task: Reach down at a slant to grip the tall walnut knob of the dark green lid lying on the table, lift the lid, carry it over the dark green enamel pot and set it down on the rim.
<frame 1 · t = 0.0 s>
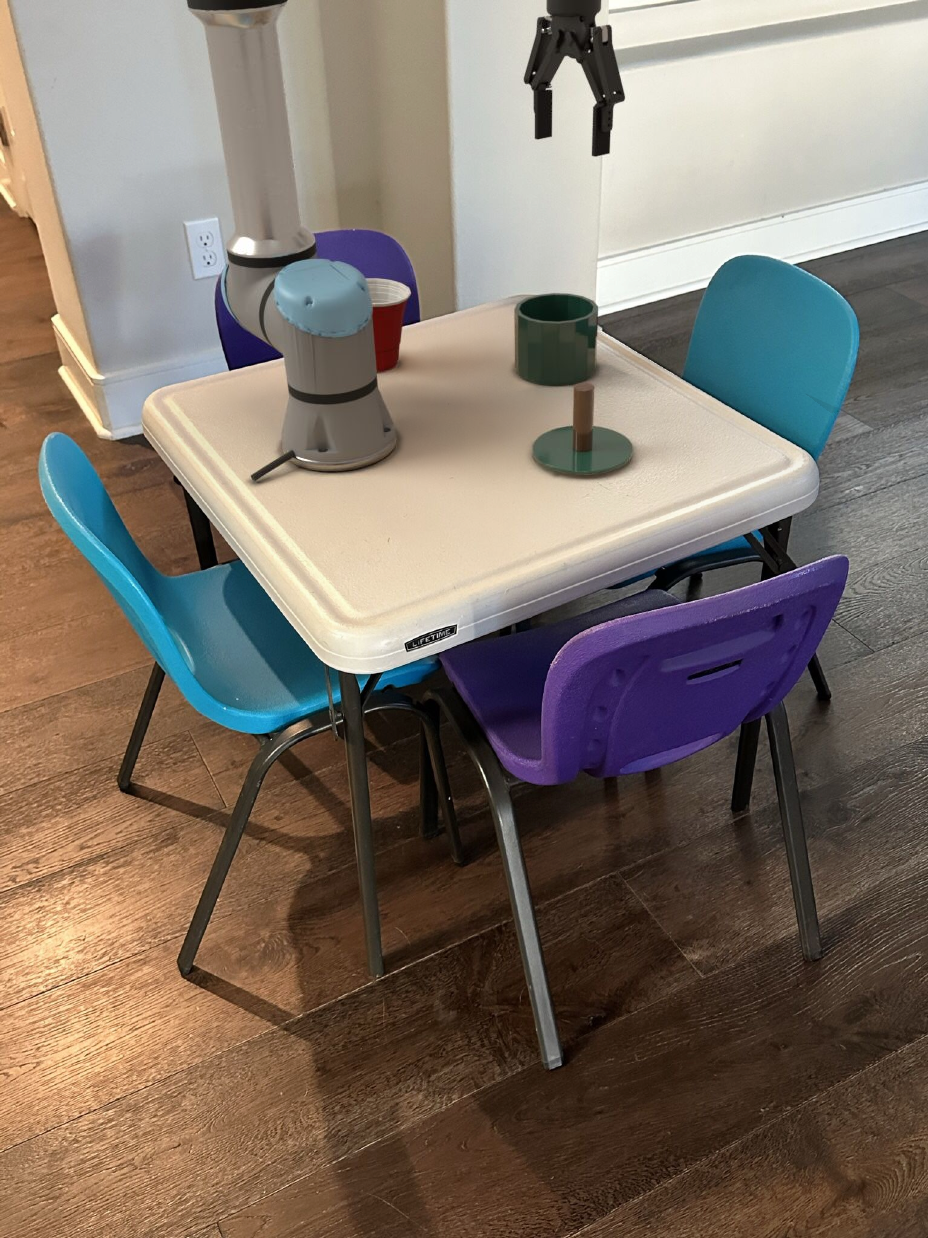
hand: (571, 146, 166), 28 cm above the table, tool pointing down, fingers open, 13 cm apart
lid: (582, 450, 146), point 1 cm above the table
pot: (555, 368, 169), on the table
plastic cup: (380, 365, 173), on the table
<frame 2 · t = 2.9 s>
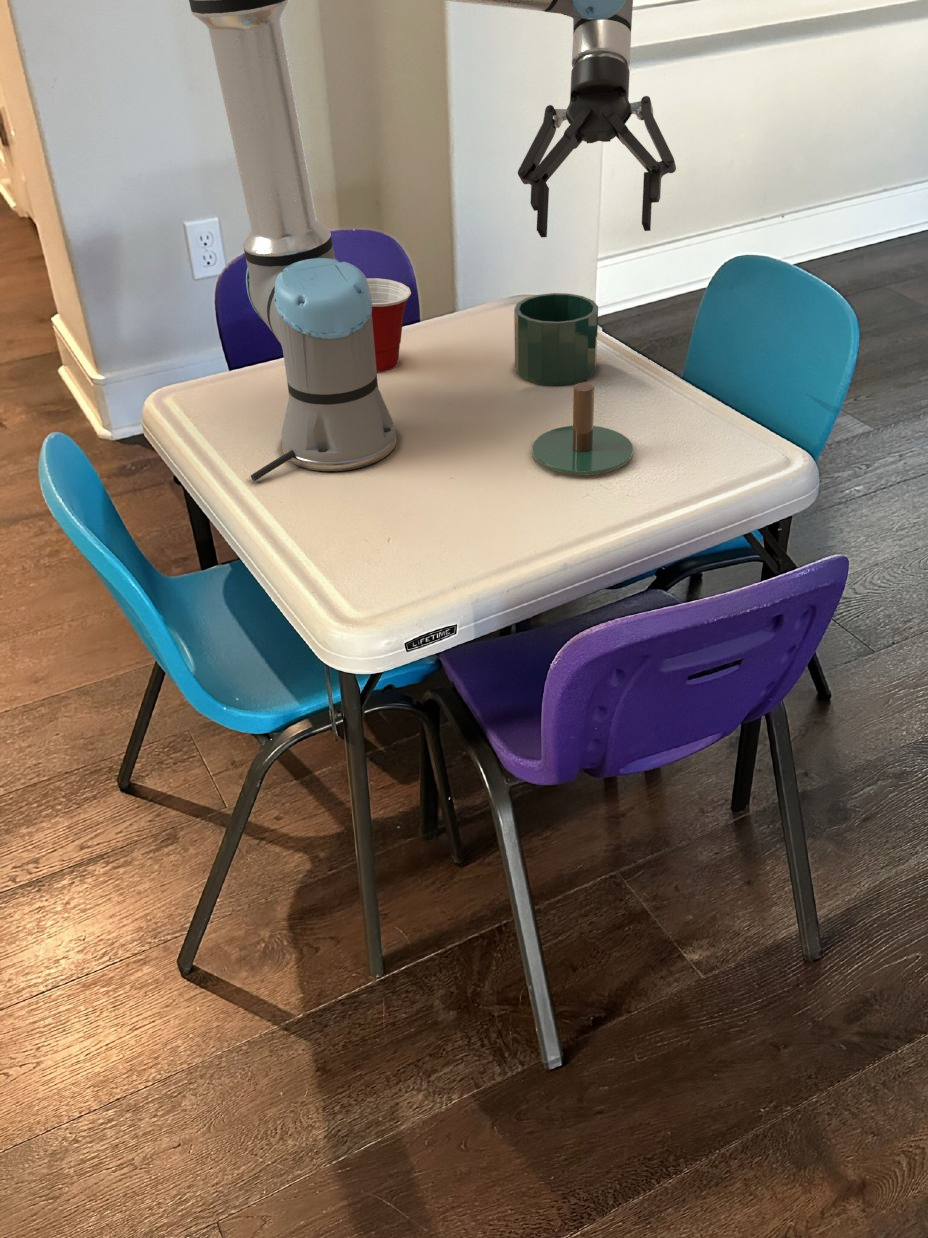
hand: (593, 230, 145), 24 cm above the table, tool tilted 40°, fingers open, 13 cm apart
nothing on the table moved.
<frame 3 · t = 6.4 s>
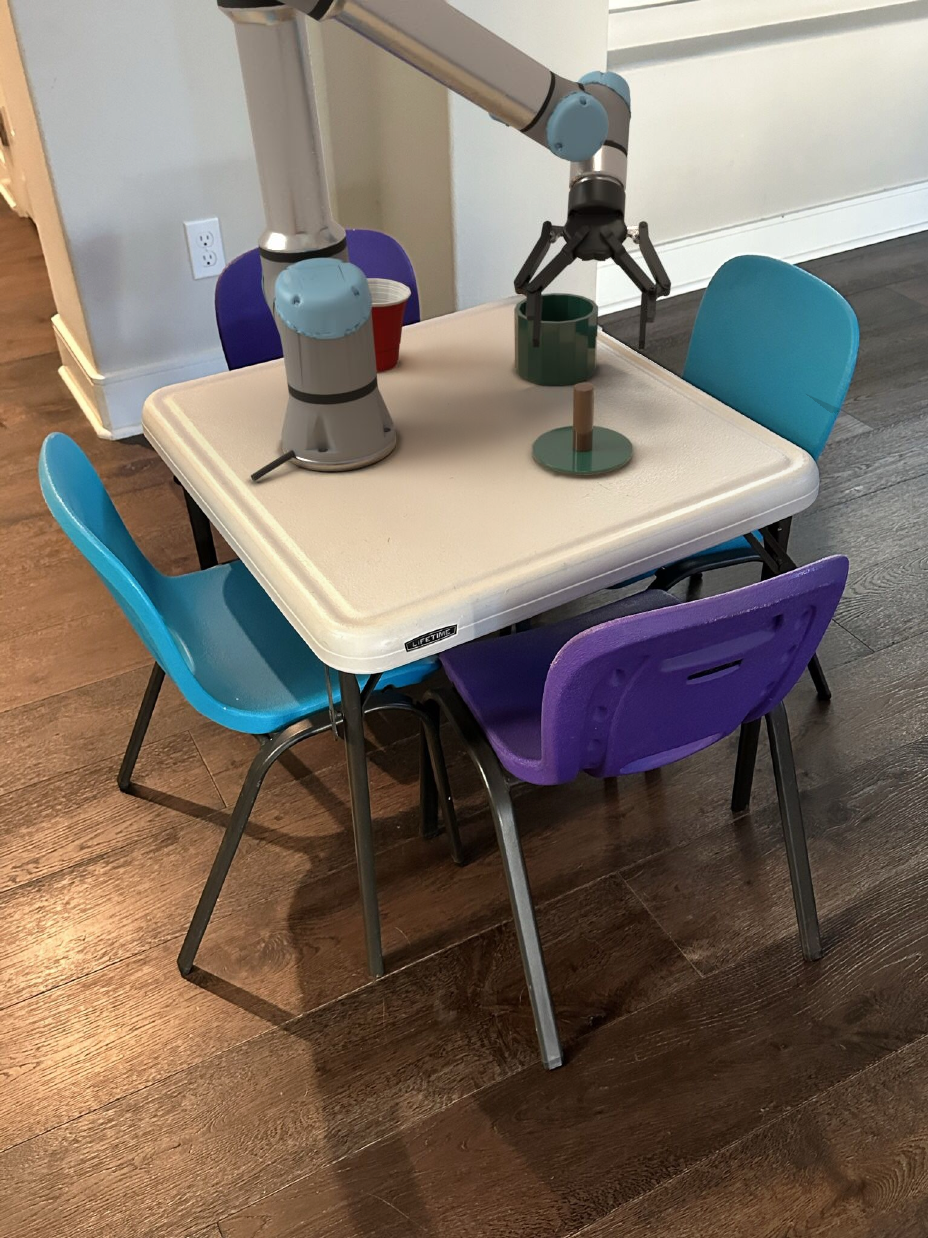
hand: (588, 344, 145), 12 cm above the table, tool tilted 45°, fingers open, 13 cm apart
nothing on the table moved.
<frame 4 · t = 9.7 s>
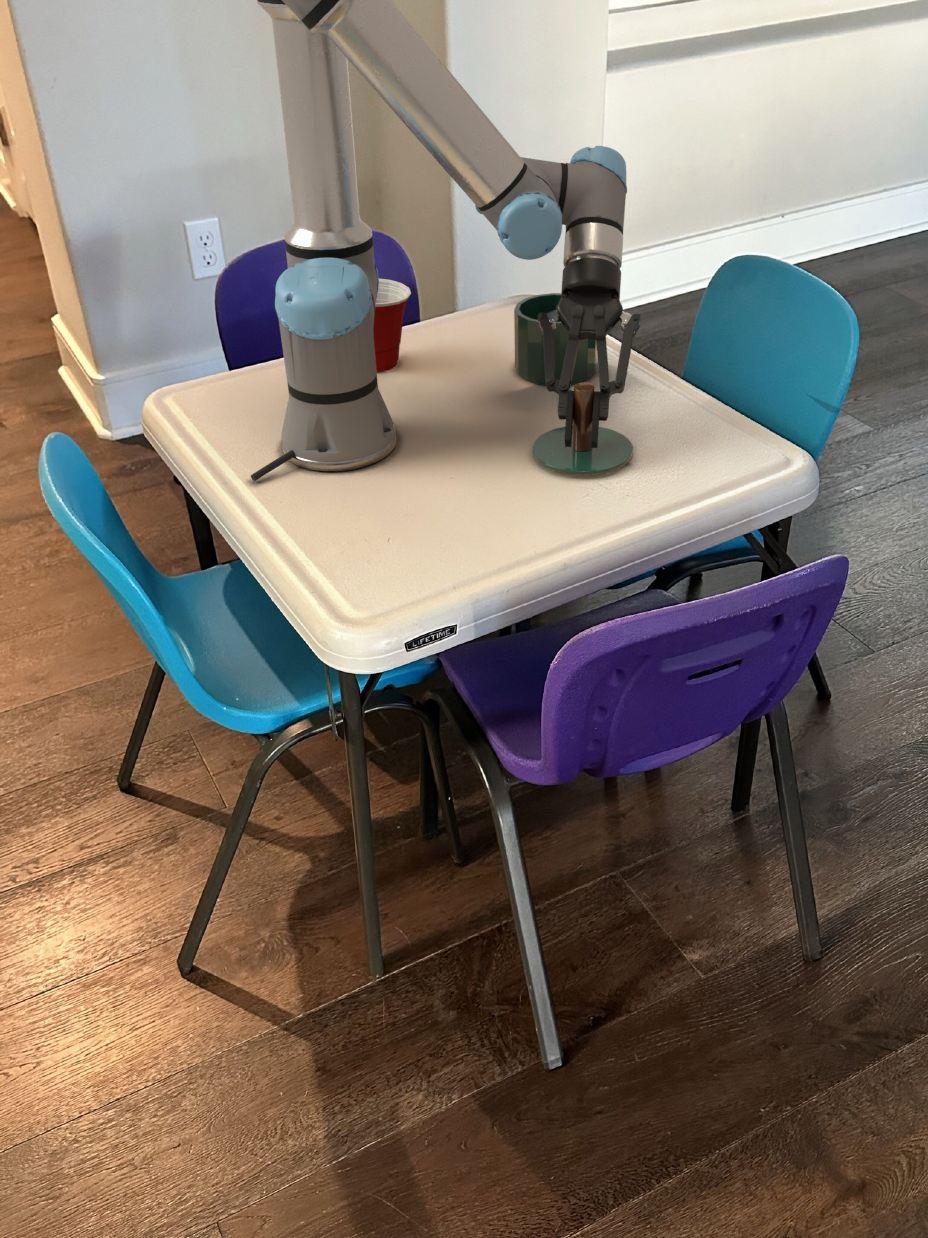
hand: (581, 443, 142), 4 cm above the table, tool tilted 45°, fingers closed on lid, 3 cm apart
lid: (582, 450, 146), point 1 cm above the table, touching gripper
everything else where it was.
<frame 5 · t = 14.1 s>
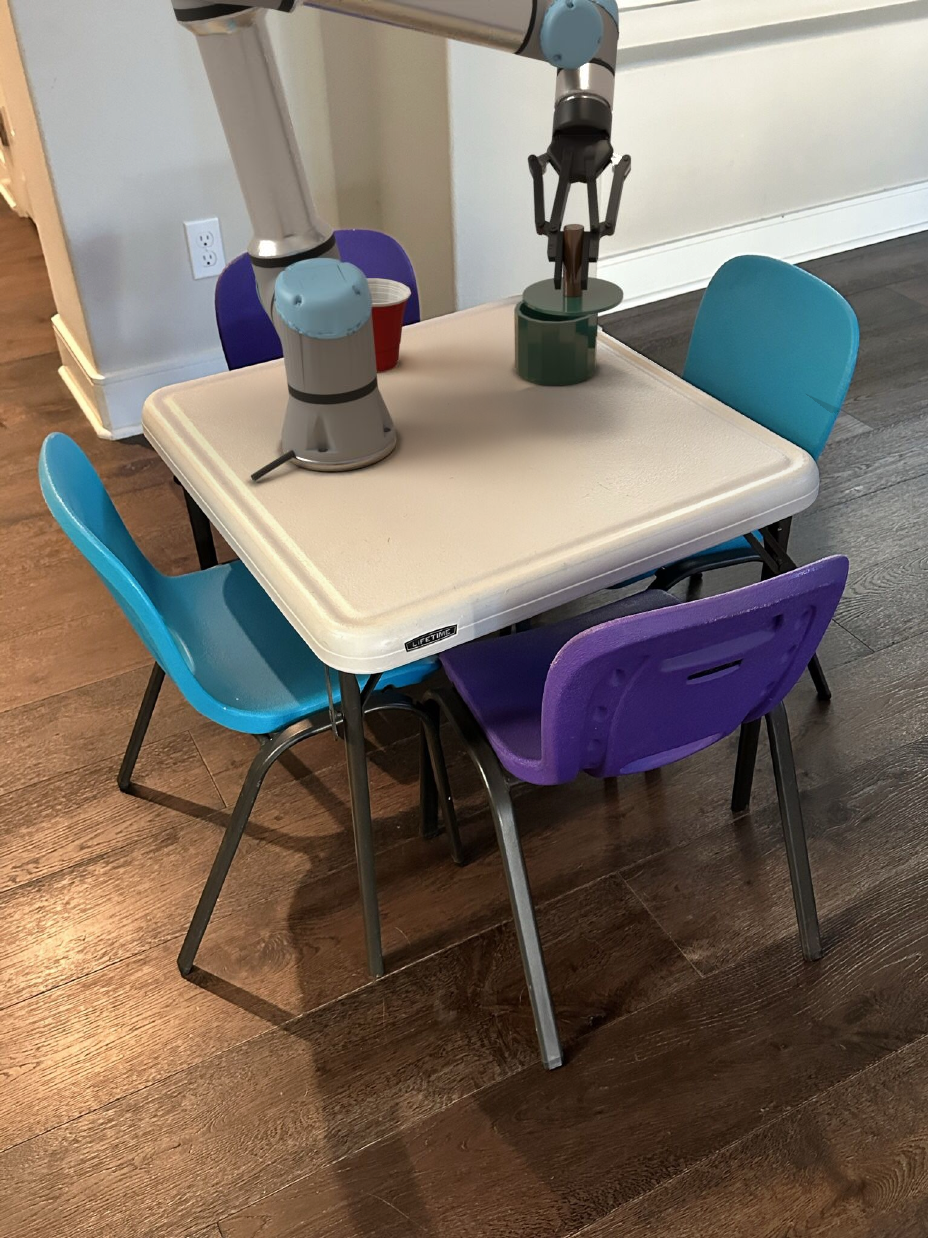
hand: (570, 284, 141), 20 cm above the table, tool tilted 45°, fingers closed on lid, 3 cm apart
lid: (572, 297, 146), point 17 cm above the table, touching gripper
everything else where it was.
when the fingers open (12 cm above the table, at t = 18.5 s): lid stays where it is, resting on pot.
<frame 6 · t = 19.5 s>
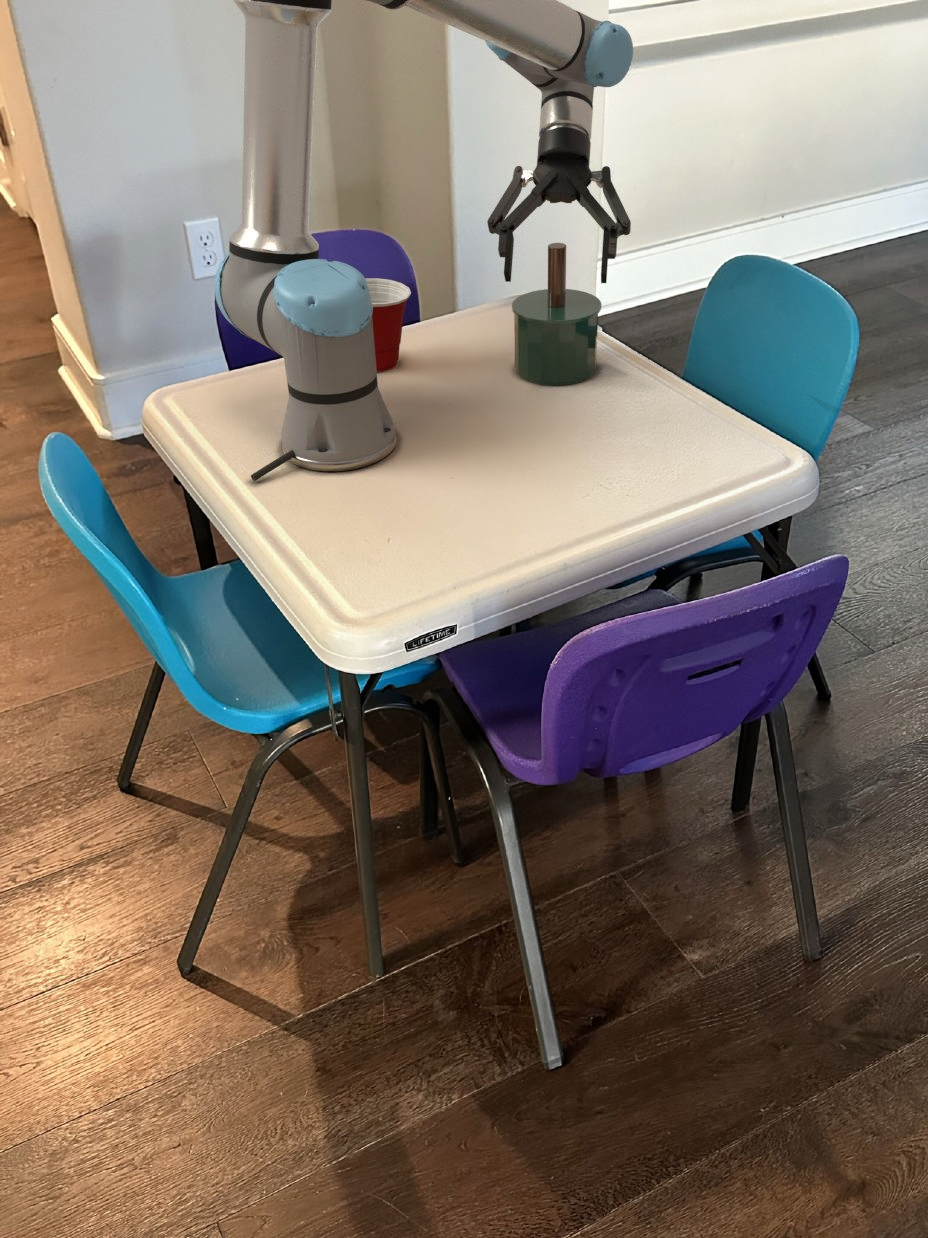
hand: (555, 278, 159), 15 cm above the table, tool tilted 45°, fingers open, 13 cm apart
lid: (556, 307, 164), point 9 cm above the table, touching pot
everything else where it was.
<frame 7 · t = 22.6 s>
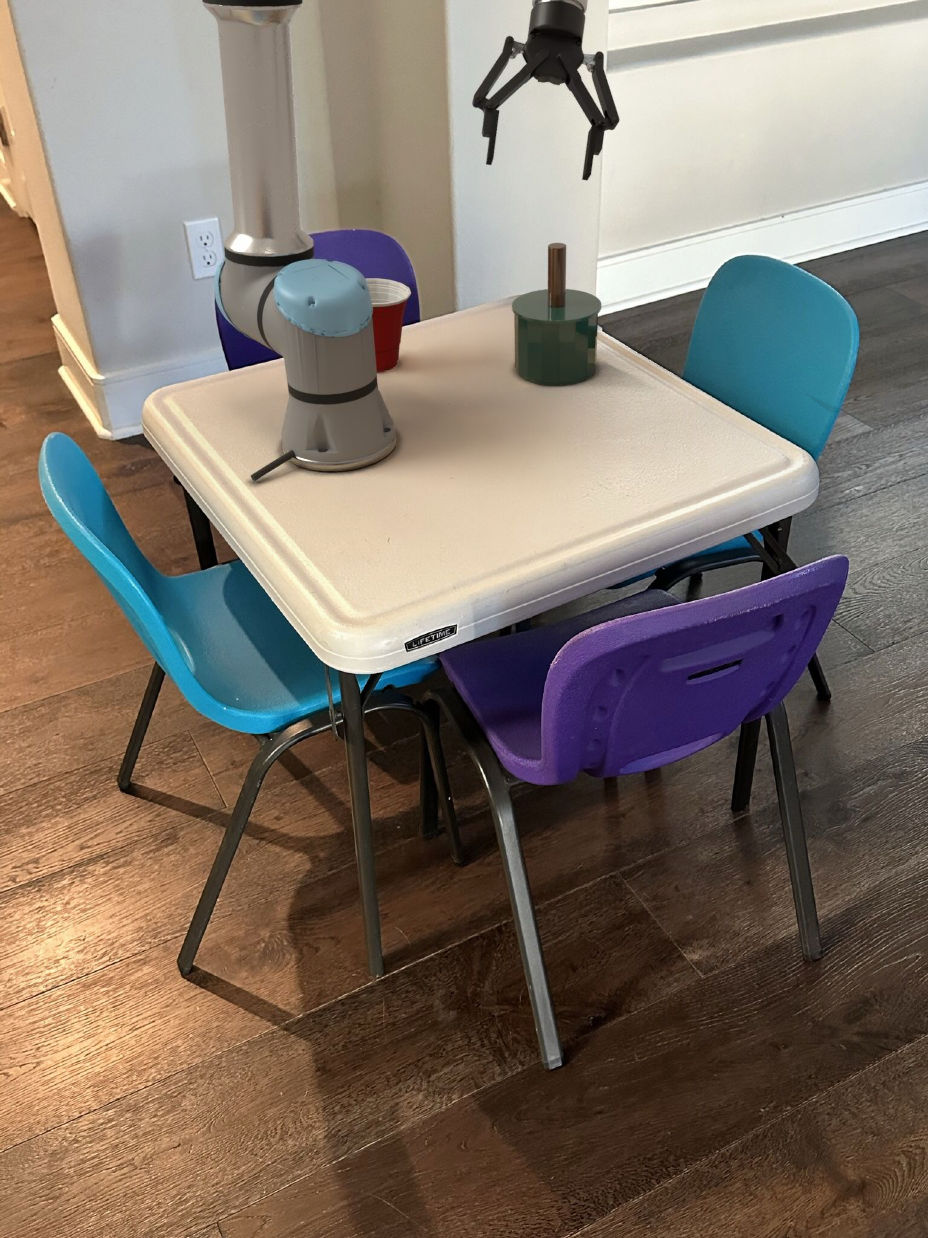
hand: (538, 169, 155), 28 cm above the table, tool tilted 35°, fingers open, 13 cm apart
nothing on the table moved.
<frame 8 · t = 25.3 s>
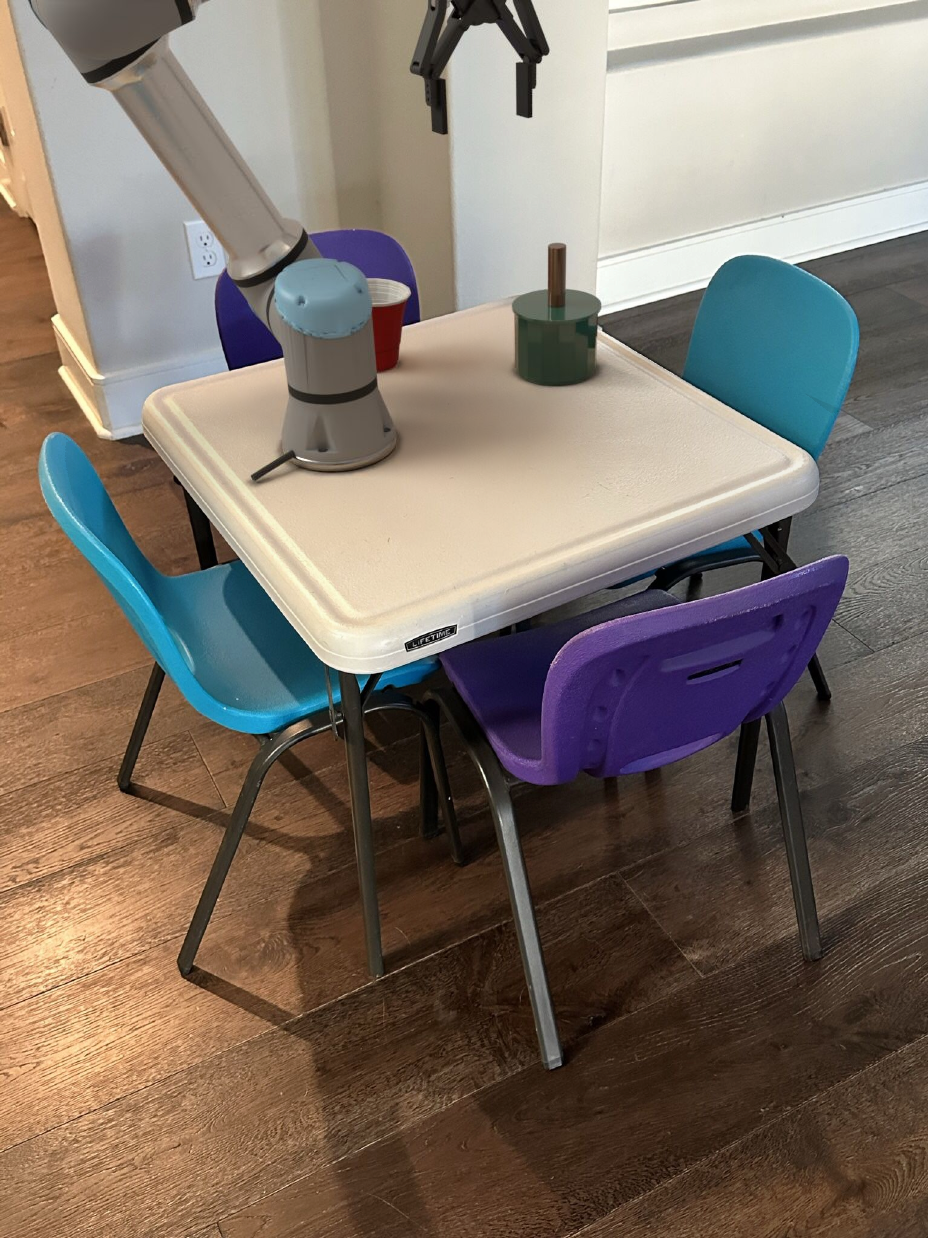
hand: (482, 124, 150), 35 cm above the table, tool pointing down, fingers open, 13 cm apart
nothing on the table moved.
at the end: lid 0.1 cm off-centre on the pot, point 9.5 cm above the pot's base; lid tilted 0°; the gripper is holding nothing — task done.
